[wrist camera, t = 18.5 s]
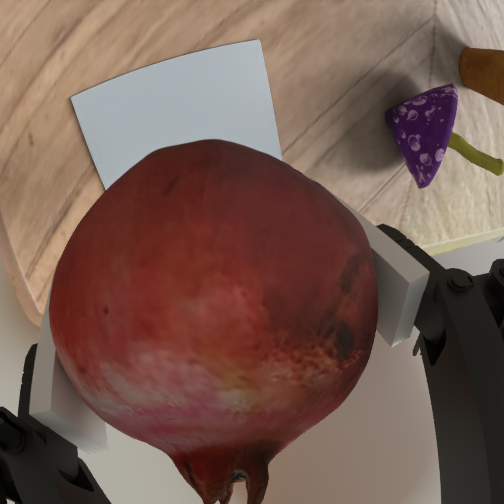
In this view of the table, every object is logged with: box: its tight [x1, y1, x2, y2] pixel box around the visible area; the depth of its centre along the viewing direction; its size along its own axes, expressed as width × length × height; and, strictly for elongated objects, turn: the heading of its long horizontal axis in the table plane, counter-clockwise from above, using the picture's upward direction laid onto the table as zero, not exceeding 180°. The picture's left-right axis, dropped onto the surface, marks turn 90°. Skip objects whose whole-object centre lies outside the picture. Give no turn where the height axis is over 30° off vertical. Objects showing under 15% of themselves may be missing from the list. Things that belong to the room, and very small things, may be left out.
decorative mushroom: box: [385, 83, 504, 188], centre depth 26 cm, size 12×12×15 cm
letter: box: [71, 39, 282, 190], centre depth 26 cm, size 19×16×1 cm
